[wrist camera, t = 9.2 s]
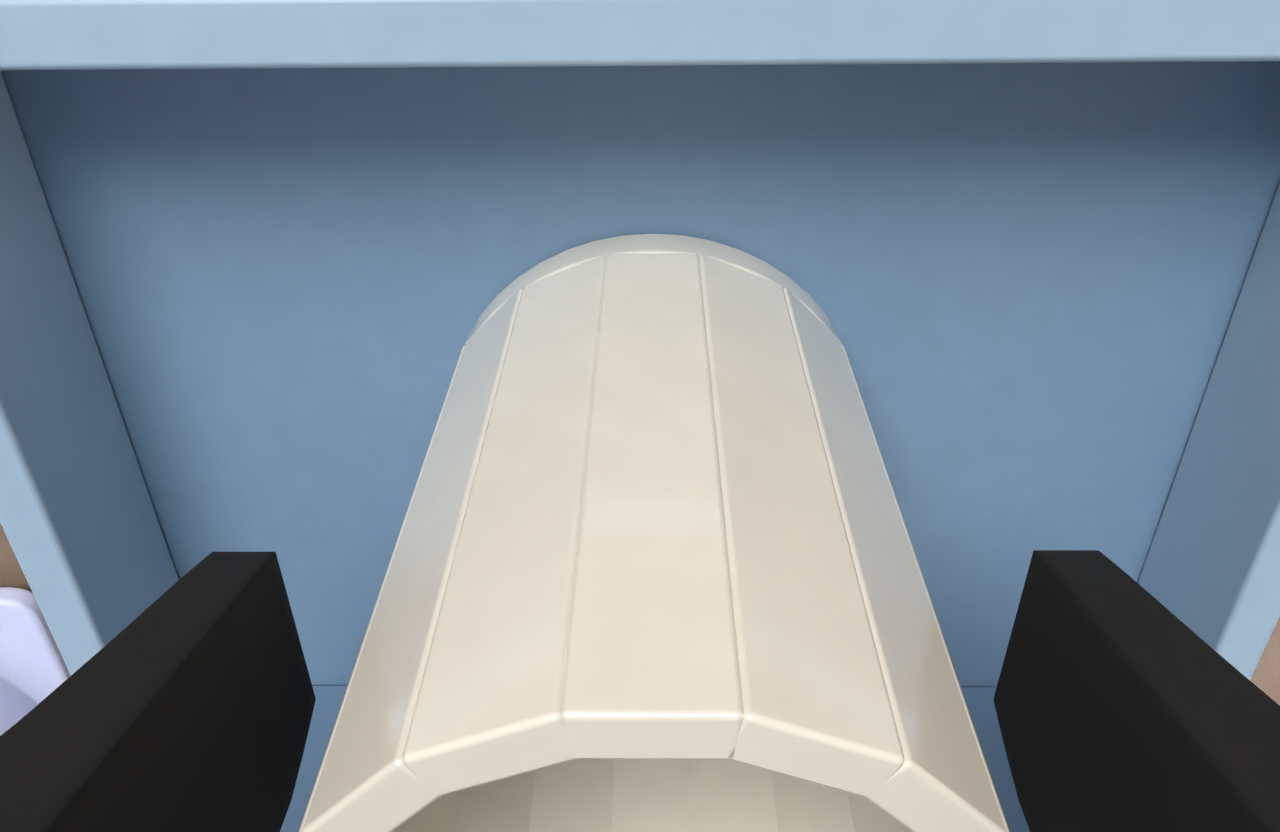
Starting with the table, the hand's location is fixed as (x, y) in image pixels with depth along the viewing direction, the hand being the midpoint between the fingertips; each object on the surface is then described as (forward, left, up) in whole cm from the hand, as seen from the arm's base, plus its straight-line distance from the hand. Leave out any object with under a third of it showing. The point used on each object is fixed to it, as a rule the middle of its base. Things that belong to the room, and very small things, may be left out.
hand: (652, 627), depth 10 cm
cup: (0, 0, -4) cm, 4 cm away
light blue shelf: (0, 0, -6) cm, 6 cm away
